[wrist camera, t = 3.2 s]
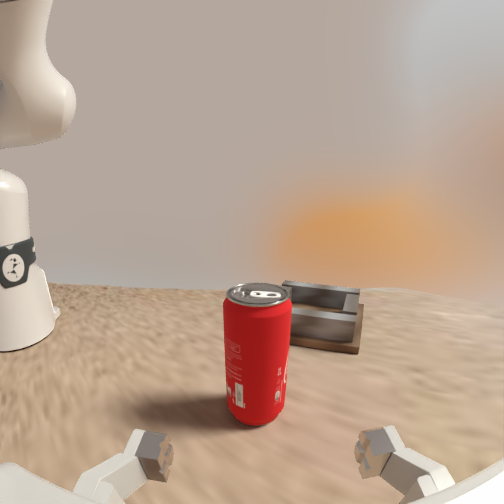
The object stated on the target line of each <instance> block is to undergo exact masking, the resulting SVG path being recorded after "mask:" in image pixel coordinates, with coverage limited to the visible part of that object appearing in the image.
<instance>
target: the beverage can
mask: <svg viewBox="0 0 504 504" xmlns="http://www.w3.org/2000/svg"><path fill="white" fill-rule="evenodd" d="M226 296H227V297H226V299H225V301H224V303H223V316H224V344H225V367H226V388H227V404H228V408H229V409H230V411H231V412H232V413H233V416H234V417H235V418H236V419H237V420H238V421H239V422H241V423H243V424H246V425H250V426H262V425H266V424H269V423H271V422H272V421H274V420H275V419H276V418H277V416H278V414H279V413H280V412H281V411H282V409H283V407H284V401H285V391H286V380H287V368H288V356H289V343H290V329H291V314H292V303H291V301H290V299H289V292H288V291H287V290H286V289H285V288H283V287H281V286H278V285H273V284H267V283H246V284H240V285H236V286H234V287H232V288H230V289H229V290H228V291H227V292H226Z"/></svg>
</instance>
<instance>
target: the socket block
mask: <svg viewBox="0 0 504 504" xmlns="http://www.w3.org/2000/svg"><path fill="white" fill-rule="evenodd" d="M281 287H283V288H285V289H286V290H287V291H288V292H289V299H290V301H291V303H292V314H291V329H290V343H289V344H294V345H299V346H305V347H312V348H318V349H325V350H332V351H339V352H346V353H354V354H358V352H359V346H360V338H361V329H362V318H363V307H364V304H358V302H359V294H360V289H356V288H346V287H337V286H328V285H319V284H311V283H302V282H294V281H285V282H283V284H282V286H281Z"/></svg>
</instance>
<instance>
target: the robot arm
mask: <svg viewBox="0 0 504 504" xmlns="http://www.w3.org/2000/svg"><path fill="white" fill-rule="evenodd" d="M52 3H53V0H0V79H1V80H0V149H5V148H12V147H21V146H29V145H36V144H40V143H43V142H47V141H50V140H53V139H57V138H60V137H61V136H62V135H63V134H64V133H65V132H66V130H67V129H68V128H69V126H70V124H71V122H72V120H73V117H74V115H75V111H76V95H75V91H74V89H73V87H72V85H71V83H70V82H69V81H68V80H67V79H66V78H64V77H63V76H61V75H60V74H59V73H58V72H57V70H56V69H55V68H54V67H53V65H52V63H51V61H50V59H49V57H48V54H47V49H46V30H47V23H48V18H49V14H50V10H51V6H52ZM35 260H36V256H35V245H34V242H33V238H32V237H31V236H30V227H29V211H28V192H27V188H26V186H25V184H24V183H23V181H22V180H21V179H20V178H19V177H17V176H15V175H14V174H12V173H10V172H8V171H6V170H3V169H1V168H0V351H11V350H17V349H21V348H24V347H27V346H30V345H32V344H35V343H37V342H39V341H40V340H42V339H43V338H45V337H46V336H47V335H49V334H50V333H51V331H52V330H53V329H54V326H55V321H56V319H57V318H58V317H59V316H60V314H61V312H60V309H59V308H58V307H55V306H53V304H52V301H51V297H50V293H49V289H48V285H47V281H46V277H45V273H44V271H43V270H42V269H41V268H40V267H38V266H37V265H36V264H35ZM169 442H170V437H169V435H168V434H162V433H156V432H151V431H145V430H140V429H135V430H134V431H133V432H132V434H131V436H130V439H129V441H128V443H127V445H126V447H125V449H124V451H123V453H118V454H117V455H115V456H113V457H111V458H110V459H108V460H106V461H104V462H102V463H101V464H99V465H97V466H95V467H93V468H91V469H89V470H88V471H86V472H84V473H82V475H81V476H80V478H79V480H78V482H77V484H76V486H75V488H74V490H73V491H72V492H71V491H68V490H66V489H64V488H62V487H59V486H57V485H55V484H53V483H51V482H49V481H47V480H45V479H43V478H41V477H39V476H37V475H35V474H33V473H31V472H29V471H28V470H26V469H24V468H22V467H21V466H19V465H17V464H15V463H13V462H6V463H2V464H0V504H125V502H124V501H123V500H124V499H126V498H127V497H128V496H130V495H131V494H132V493H133V492H135V491H136V490H137V489H138V488H140V487H141V486H142V485H143V484H144V483H146V482H147V481H148V479H149V480H154V481H160V482H167V479H168V476H169V472H170V471H169V468H168V466H170V465H171V464H172V461H173V454H174V453H173V447H172V445H171V444H169ZM355 458H356V461H357V462H358V463H360V464H361V465H360V467H359V470H360V473H361V476H362V479H365V478H370V477H375V476H379V475H380V477H382V478H383V479H384V480H385V481H387V482H388V483H389V484H390V485H392V486H393V487H394V488H396V489H397V490H398V491H400V492H401V493H402V494H404V495H405V497H404V498H403V499H402V500H401V502H400V503H399V504H504V458H502V459H500V460H499V461H497V462H496V463H494V464H492V465H491V466H489V467H487V468H485V469H484V470H482V471H480V472H478V473H476V474H474V475H473V476H471V477H469V478H467V479H465V480H463V481H461V482H459V483H457V484H455V482H454V481H453V479H452V477H451V475H450V474H449V472H448V470H447V468H446V467H445V466H443V465H441V464H439V463H437V462H435V461H433V460H431V459H429V458H427V457H425V456H423V455H421V454H419V453H417V452H416V451H414V450H412V449H410V448H405V446H404V444H403V442H402V440H401V438H400V436H399V434H398V433H397V431H396V429H395V427H394V426H393V425H391V426H386V427H382V428H376V429H371V430H366V431H361V432H360V434H359V441H358V442H357V443H356V445H355Z"/></svg>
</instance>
